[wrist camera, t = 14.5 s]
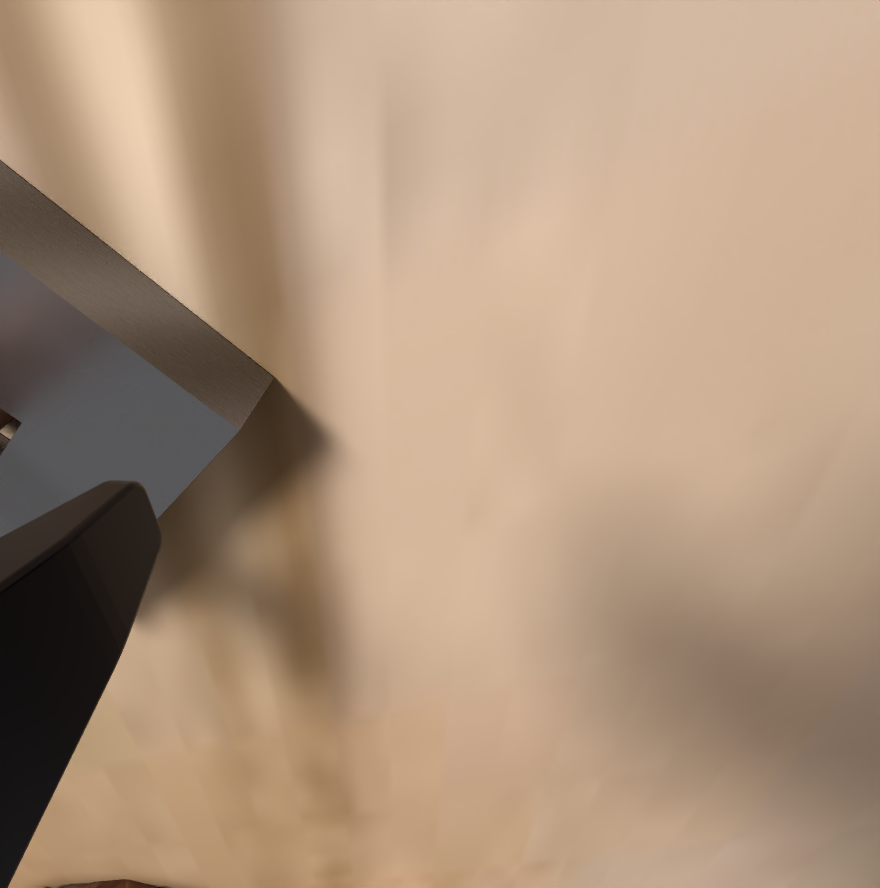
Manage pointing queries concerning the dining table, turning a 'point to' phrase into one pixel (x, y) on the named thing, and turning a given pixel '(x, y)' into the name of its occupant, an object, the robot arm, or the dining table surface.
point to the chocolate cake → (112, 884)
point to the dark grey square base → (102, 369)
